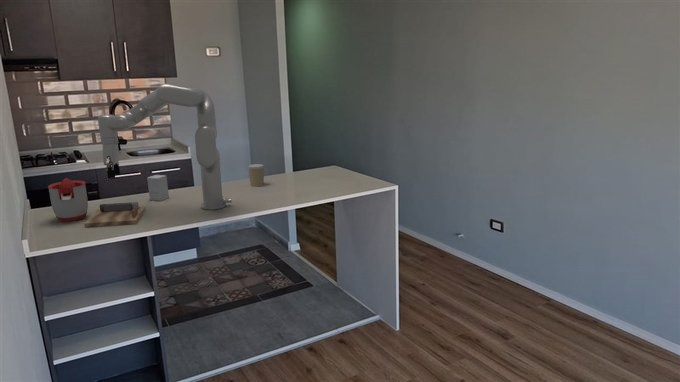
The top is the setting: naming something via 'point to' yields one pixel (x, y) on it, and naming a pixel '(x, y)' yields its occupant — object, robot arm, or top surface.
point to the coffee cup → (256, 175)
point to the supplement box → (158, 187)
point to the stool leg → (118, 206)
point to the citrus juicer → (69, 200)
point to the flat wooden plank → (115, 217)
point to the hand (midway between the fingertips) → (114, 175)
